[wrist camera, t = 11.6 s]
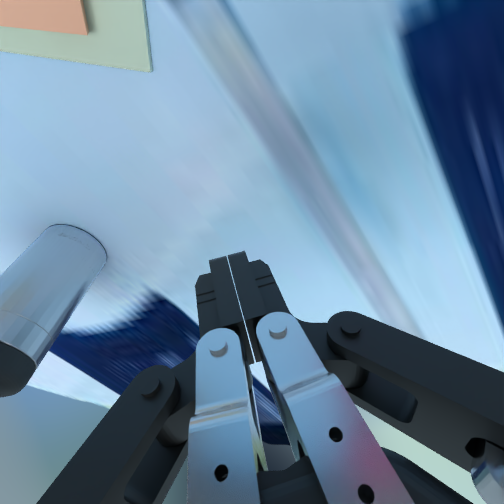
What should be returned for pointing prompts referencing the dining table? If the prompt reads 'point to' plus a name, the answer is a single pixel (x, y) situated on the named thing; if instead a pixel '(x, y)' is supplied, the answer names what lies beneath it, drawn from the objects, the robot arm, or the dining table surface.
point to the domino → (45, 15)
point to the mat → (92, 37)
